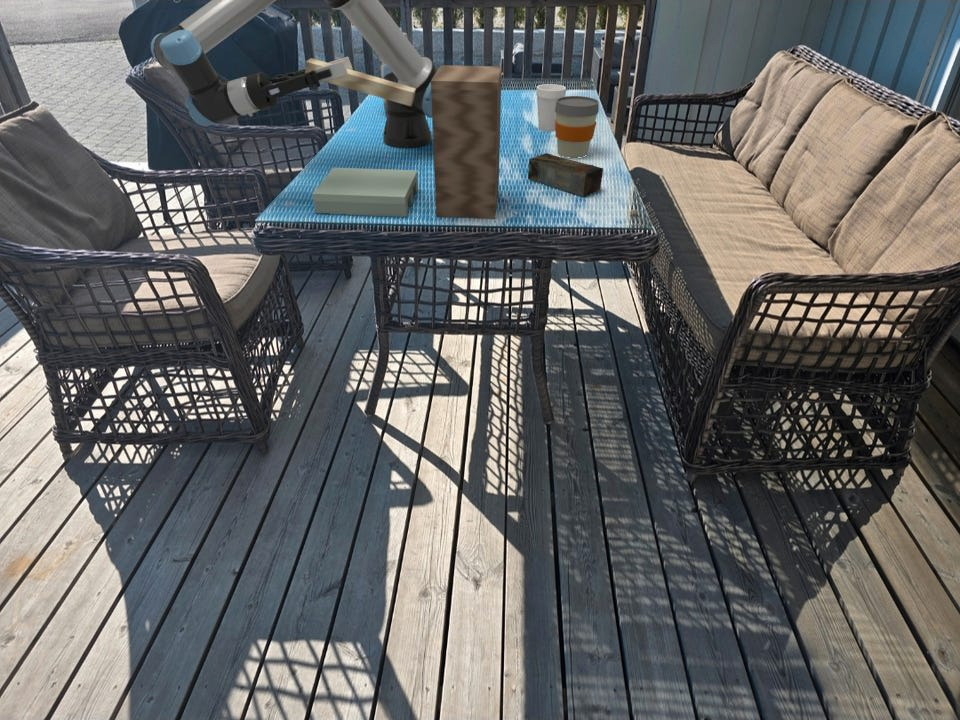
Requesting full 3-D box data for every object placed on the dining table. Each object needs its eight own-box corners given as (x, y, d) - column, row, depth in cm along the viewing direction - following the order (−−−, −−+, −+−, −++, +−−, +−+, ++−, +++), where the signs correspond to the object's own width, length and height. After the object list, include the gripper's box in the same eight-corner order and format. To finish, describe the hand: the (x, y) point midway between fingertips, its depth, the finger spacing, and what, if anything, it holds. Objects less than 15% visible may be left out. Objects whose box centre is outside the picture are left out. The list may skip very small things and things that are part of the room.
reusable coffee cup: (544, 155, 179) (547, 102, 170) (563, 144, 187) (568, 93, 178) (582, 163, 173) (588, 109, 164) (600, 152, 182) (606, 99, 173)
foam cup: (558, 134, 196) (562, 91, 188) (531, 131, 198) (533, 89, 191) (564, 126, 203) (568, 85, 195) (538, 123, 206) (541, 83, 198)
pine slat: (304, 75, 132) (305, 61, 130) (309, 72, 135) (310, 58, 133) (411, 106, 135) (413, 92, 133) (413, 101, 138) (415, 88, 136)
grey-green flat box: (315, 213, 143) (312, 193, 140) (336, 186, 158) (333, 167, 155) (406, 217, 142) (404, 197, 139) (418, 189, 156) (417, 170, 153)
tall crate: (436, 216, 142) (430, 80, 124) (444, 191, 155) (440, 65, 137) (494, 218, 141) (497, 82, 123) (498, 193, 154) (501, 66, 136)
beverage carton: (544, 173, 167) (546, 149, 163) (602, 191, 157) (605, 166, 153) (526, 180, 163) (528, 156, 159) (584, 199, 152) (587, 173, 148)
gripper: (273, 101, 145) (362, 74, 141) (248, 120, 132) (345, 92, 127) (258, 68, 141) (349, 40, 137) (231, 85, 128) (331, 54, 123)
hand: (347, 65), depth 132 cm, fingers closed on pine slat, 4 cm apart
